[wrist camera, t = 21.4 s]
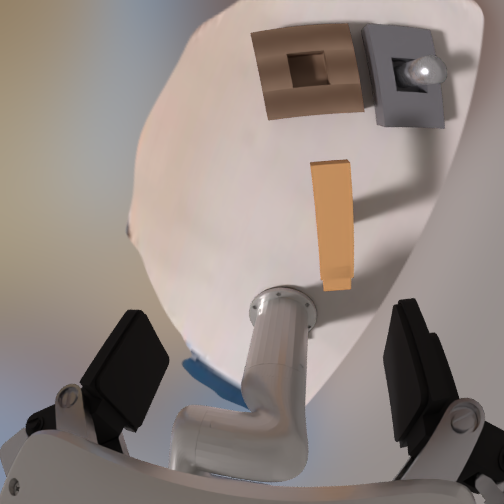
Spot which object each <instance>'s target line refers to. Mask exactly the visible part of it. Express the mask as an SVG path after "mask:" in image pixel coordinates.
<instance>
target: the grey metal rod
mask: <svg viewBox="0 0 504 504" xmlns="http://www.w3.org/2000/svg"><path fill="white" fill-rule="evenodd" d="M393 70H394V76H395V82H396V84H397V85H398V86H400V87H403V88H406V87H412V86H420V85H427V84H436V83H442V82H444V81H445V80H446V78H447V68H446V66H445V64H444V62H443V61H442V60H441V59H440V58H438V57H437V56H434V55H427V56H424V57H421V58H418V59H415V60H413V61H410V62H407V63H404V64H402V65H399V66H396V67H395V68H394V69H393Z"/></svg>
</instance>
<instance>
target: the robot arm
mask: <svg viewBox="0 0 504 504" xmlns="http://www.w3.org/2000/svg"><path fill="white" fill-rule="evenodd" d="M316 316H317V315H316V308H315V305H314V303H313V302H312V300H311V299H310V298H309V297H308V296H306V295H305V294H304V293H302V292H300V291H297V290H294V289H291V288H273V289H269V290H266V291H264V292H262V293H260V294H259V295H257V296H256V297H255V298H254V300H253V301H252V303H251V305H250V309H249V318H250V321H251V323H252V325H253V326H254V330H253V334H252V339H251V343H250V348H249V352H248V356H247V361H246V365H245V369H244V374H243V378H242V383H241V391H242V396H243V398H244V401H245V403H246V405H247V406H248V408H249V409H250V411H251V412H252V413H250V412H239V411H232V410H226V409H220V408H215V407H209V406H203V405H189V406H186V407H184V408H183V409H181V411H180V412H179V413H178V415H177V417H176V419H175V421H174V425H173V429H172V434H171V442H170V453H169V467H168V468H164V467H161V466H157V465H154V464H151V463H148V462H144V461H141V460H138V459H135V458H133V457H130V456H129V453H128V450H127V447H126V444H125V440H124V437H123V433H122V430H123V428H125V429H126V430H129V431H132V432H135V433H136V431H137V429H138V427H140V426H141V425H142V423H143V421H144V419H145V416H146V414H147V412H148V409H149V407H150V405H151V403H152V400H153V398H154V396H155V394H156V391H157V389H158V387H159V385H160V382H161V380H162V378H163V376H164V374H165V371H166V369H167V367H168V365H169V356H168V354H167V352H166V351H165V349H164V347H163V345H162V344H161V342H160V340H159V338H158V336H157V335H156V332H155V331H154V329H153V327H152V325H151V323H150V321H149V319H148V317H147V315H146V314H144V313H143V311H141V310H127V311H126V313H125V314H124V315H123V317H122V318H121V320H120V321H119V322H118V324H117V325H116V327H115V328H114V330H113V331H112V333H111V334H110V336H109V337H108V339H107V340H106V341H105V343H104V345H103V346H102V348H101V349H100V351H99V352H98V354H97V355H96V357H95V358H94V360H93V361H92V363H91V364H90V366H89V367H88V369H87V371H86V372H85V374H84V376H83V377H82V379H81V380H80V383H81V385H82V386H83V387H82V388H80V387H79V386H78V385H76V384H69V385H66V386H64V387H63V388H62V389H61V390H60V391H59V392H58V394H57V396H56V400H55V404H54V405H52V406H50V407H47V408H45V409H43V410H41V411H38V412H36V413H34V414H33V415H31V416H30V417H29V419H28V420H27V424H26V429H25V428H23V429H21V430H20V431H19V432H18V433H17V434H15V435H14V436H13V437H12V438H10V439H9V440H8V441H7V442H5V443H4V444H3V445H2V447H1V449H0V459H1V462H2V465H3V468H4V471H5V474H6V477H7V479H6V481H5V483H4V486H3V488H2V491H1V494H0V504H476V502H475V499H474V496H473V494H472V492H473V493H476V494H481V495H482V496H483V498H484V499H485V500H486V501H485V502H484V503H485V504H504V431H503V430H501V429H500V428H498V427H496V426H494V425H492V424H490V423H488V422H486V421H485V413H484V410H483V408H482V406H481V405H480V404H479V403H478V402H477V401H475V400H474V399H470V398H461V399H459V396H458V392H457V389H456V386H455V383H454V380H453V376H452V374H451V370H450V367H449V364H448V361H447V359H446V356H445V353H444V350H443V348H442V345H441V342H440V340H439V337H438V336H437V334H436V333H429V331H428V329H427V326H426V323H425V321H424V318H423V316H422V313H421V311H420V308H419V306H418V304H417V301H416V300H415V299H414V298H411V299H403V300H399V301H398V304H396V305H394V306H393V310H392V316H391V322H390V326H389V332H388V336H387V341H386V346H385V350H384V355H383V361H384V368H385V374H386V380H387V386H388V392H389V398H390V405H391V413H392V420H393V428H394V438H395V441H396V442H398V441H400V448H402V447H407V446H408V454H409V455H410V457H409V459H408V460H407V462H406V463H405V465H404V466H403V467H402V469H401V470H400V471H399V473H398V474H397V475H396V476H395V478H394V479H393V480H392V481H389V482H379V483H370V484H360V485H349V486H331V487H283V486H271V485H268V484H263V483H257V482H251V481H245V480H252V481H260V482H282V481H287V480H290V479H293V478H295V477H296V476H298V475H299V474H300V473H301V472H302V471H303V469H304V467H305V466H306V463H307V459H308V439H307V429H306V418H305V395H306V373H307V346H308V332H309V331H310V330H311V329H312V328H313V326H314V325H315V322H316ZM211 473H213V474H218V475H223V476H229V477H232V478H238V479H245V480H238V479H232V478H227V477H221V476H216V475H212V474H211Z"/></svg>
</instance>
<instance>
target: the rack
mask: <svg viewBox="0 0 504 504" xmlns="http://www.w3.org/2000/svg"><path fill="white" fill-rule="evenodd" d="M361 33H362V37H363V42H364V46H365V51H366V56H367V61H368V66H369V72H370V78H371V84H372V90H373V97H374V105H375V113H376V122H377V125H380V126H383V127H422V128H443V129H445V125H444V111H443V101H442V92H441V84H440V83H436V84H427V85H420V86H412V87H406V88H403V87H400V86H398V85H397V84H396V82H395V76H394V70H393V69H394V68H395V67H396V66H399V65H402V64H404V63H407V62H410V61H413V60H415V59H418V58H421V57H424V56H427V55H434V56H436V54H435V49H434V44H433V40H432V36H431V32H430V30H426V29H420V28H412V27H404V26H395V25H382V24H367V25H366V26H365V27H364V28H363V29H362V30H361Z"/></svg>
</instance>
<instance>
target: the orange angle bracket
mask: <svg viewBox="0 0 504 504" xmlns="http://www.w3.org/2000/svg"><path fill="white" fill-rule="evenodd" d="M310 166H311V174H312V183H313V192H314V201H315V211H316V222H317V233H318V246H319V260H320V275H321V280H323V288H324V291H335V290H348V289H351V278H354V225H353V199H352V182H351V168H350V162H349V161H348V160H347V159H346V160H332V161H320V162H310Z"/></svg>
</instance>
